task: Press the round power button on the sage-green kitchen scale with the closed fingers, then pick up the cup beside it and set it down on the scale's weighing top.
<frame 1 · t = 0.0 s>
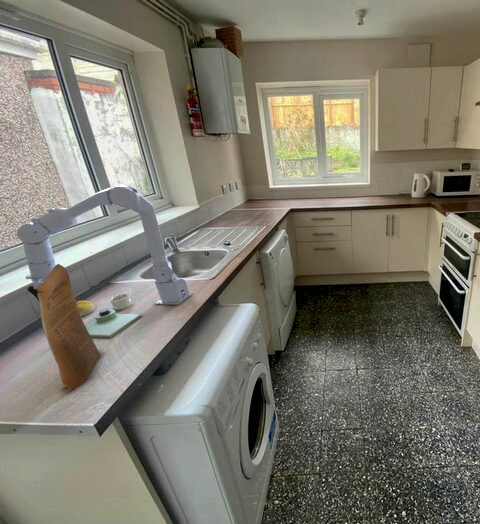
hand: (51, 301, 92), 11 cm above the worktop, tool pointing down, fingers open, 7 cm apart
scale: (108, 325, 96), on the worktop
scale button: (104, 312, 99), point 3 cm above the worktop, slide at 0.1 cm
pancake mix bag: (87, 369, 77), on the worktop
cup: (123, 306, 108), on the worktop
bread roll: (80, 313, 106), on the worktop
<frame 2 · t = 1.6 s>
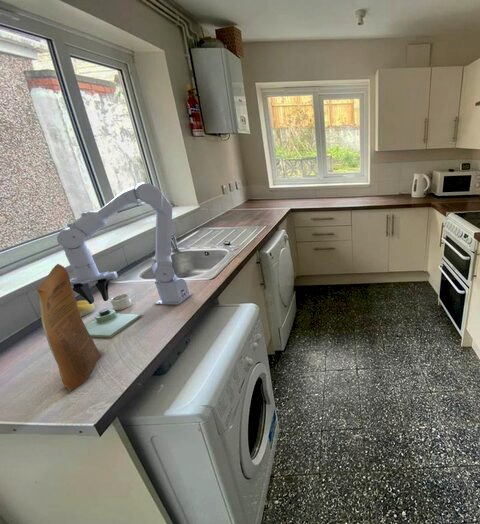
hand: (99, 301, 97), 7 cm above the worktop, tool pointing down, fingers open, 3 cm apart
nothing on the worktop moved.
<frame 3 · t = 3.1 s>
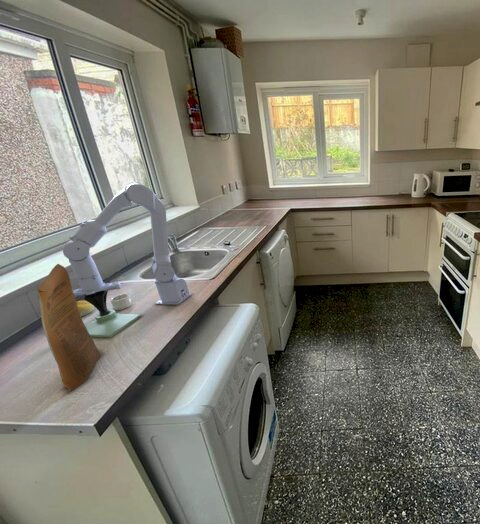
hand: (103, 311, 99), 3 cm above the worktop, tool pointing down, fingers closed, pressing on scale button
scale button: (104, 313, 99), point 3 cm above the worktop, slide at -0.1 cm, touching gripper
everything else where it was.
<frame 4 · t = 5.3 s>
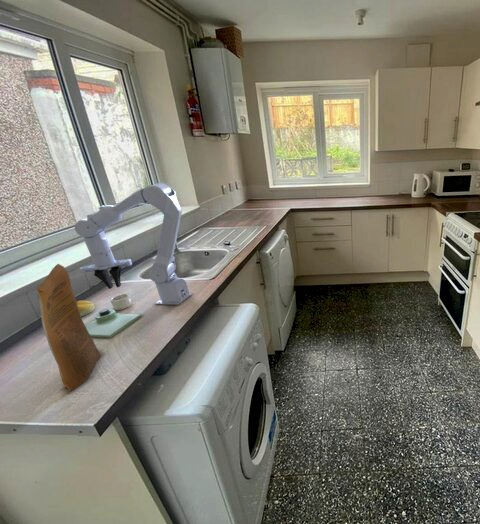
hand: (115, 286, 105), 8 cm above the worktop, tool pointing down, fingers closed
scale button: (104, 312, 99), point 3 cm above the worktop, slide at 0.1 cm
everything else where it was.
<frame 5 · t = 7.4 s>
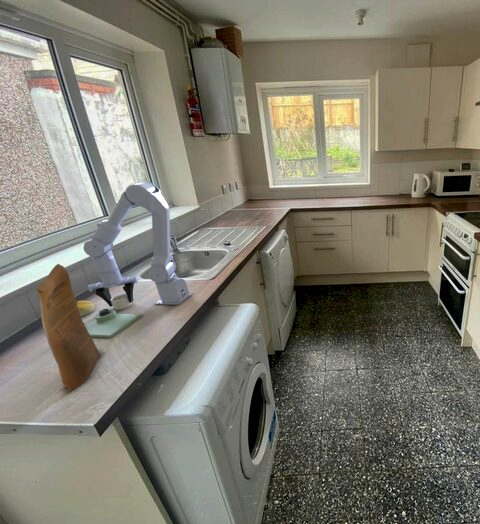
hand: (121, 303, 108), 1 cm above the worktop, tool pointing down, fingers closed on cup, 6 cm apart
cup: (123, 306, 108), on the worktop, touching gripper
everything else where it was.
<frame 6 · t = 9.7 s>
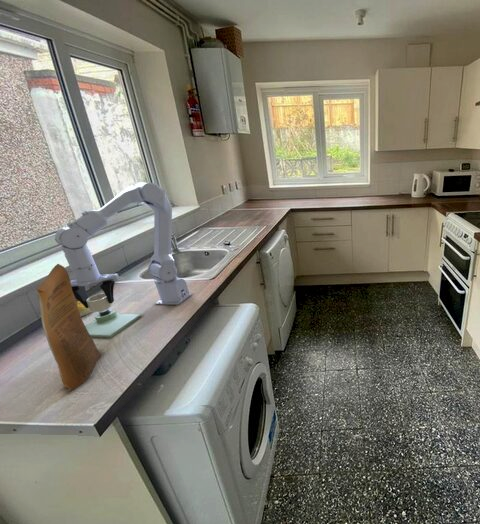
hand: (100, 304, 93), 8 cm above the worktop, tool pointing down, fingers closed on cup, 6 cm apart
cup: (102, 308, 94), point 7 cm above the worktop, touching gripper
everything else where it was.
when the fingers open (2 cm above the worktop, at t = 12.2 s): cup stays where it is, resting on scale.
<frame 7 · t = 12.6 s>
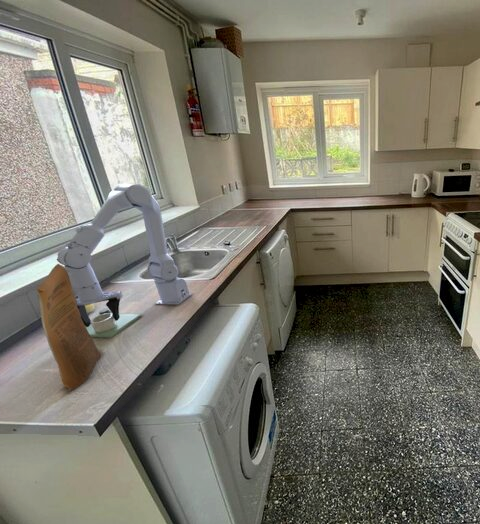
hand: (103, 322, 93), 3 cm above the worktop, tool pointing down, fingers open, 7 cm apart
cup: (106, 328, 94), point 1 cm above the worktop, touching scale
everything else where it was.
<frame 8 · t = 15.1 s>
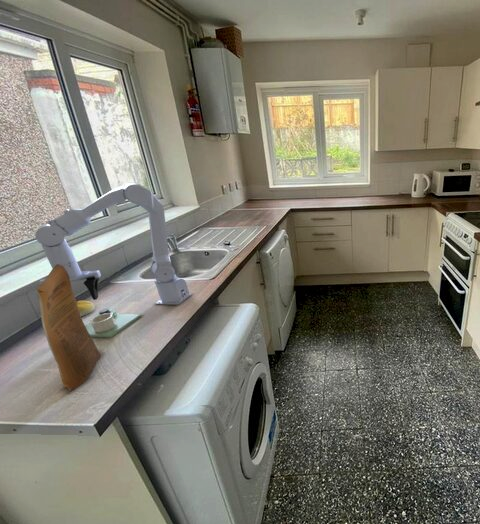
hand: (81, 301, 94), 9 cm above the worktop, tool pointing down, fingers open, 7 cm apart
nothing on the worktop moved.
at the end: scale button pushed in 1.0 cm at the most during the clip, back to where it started at the end; cup inside the target area on the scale (3.2 cm from its centre), point 0.9 cm above the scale's base; cup touching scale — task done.
